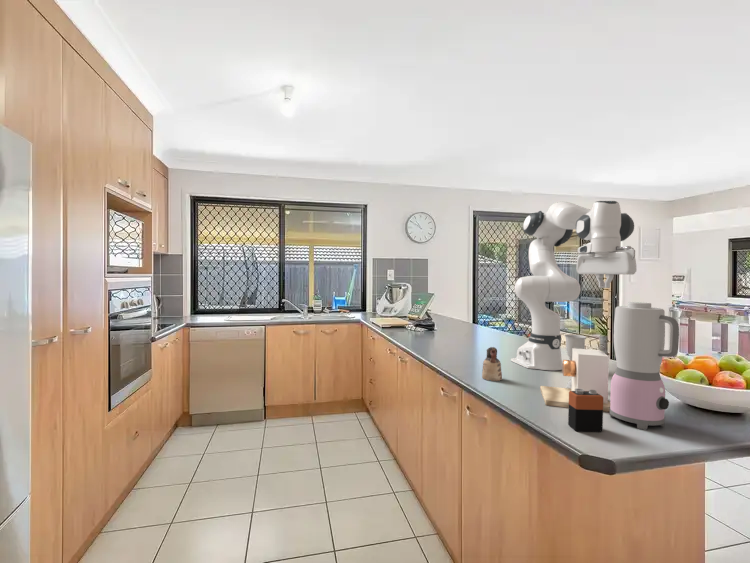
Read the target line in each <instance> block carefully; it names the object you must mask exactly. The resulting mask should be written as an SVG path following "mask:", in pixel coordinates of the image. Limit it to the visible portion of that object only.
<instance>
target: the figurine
mask: <svg viewBox="0 0 750 563" xmlns="http://www.w3.org/2000/svg"><path fill="white" fill-rule="evenodd" d="M481 373H482V374H481V377H482V379H483V380H485V379H486V380H485V381H489V380H491V381H490V382H500V380H501V381H502V379H503V372H502V364H501V361H500V360H499V359H498V350H497V348H496V347H494V346H490V347H488V348H487V349H486V357H485V359H484V360H483V363H482V370H481Z"/></svg>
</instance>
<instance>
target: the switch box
mask: <svg viewBox="0 0 750 563" xmlns="http://www.w3.org/2000/svg"><path fill="white" fill-rule="evenodd" d="M572 360H574V361H575V365H576V373H575V377H571V380H572V387H571V388H570V389H571V391H575V389H583V390H584V391H590V390H596V393H598V394H600V395H601V396H603V403H606V404H608V401H609V395H608V394H609V366H610V364H609V362H610V361H609V360H610V358H609V355H608V354H606V353H605V352H604V351H603V350H600V349H589V348H588V349H587V348H585V349H576V348H572Z"/></svg>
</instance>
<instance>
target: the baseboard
mask: <svg viewBox="0 0 750 563" xmlns="http://www.w3.org/2000/svg"><path fill="white" fill-rule="evenodd" d="M539 388H540V393H541V395H542V398H543V402H544V404H545V406H550V407H551V406H552V407H559V408H568V409H569V391H571V388H568V387H557V386H556V387H555V386H547V385H540V387H539ZM604 412H605V413H610V401H609V400H608V404H606V403H603V413H604Z"/></svg>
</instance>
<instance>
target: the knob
mask: <svg viewBox="0 0 750 563" xmlns="http://www.w3.org/2000/svg"><path fill="white" fill-rule="evenodd" d="M561 372H562V376H563V377H571V378H572V377H575V373H576V365H575V361H574V360H570V359H563V360H562V370H561Z"/></svg>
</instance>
